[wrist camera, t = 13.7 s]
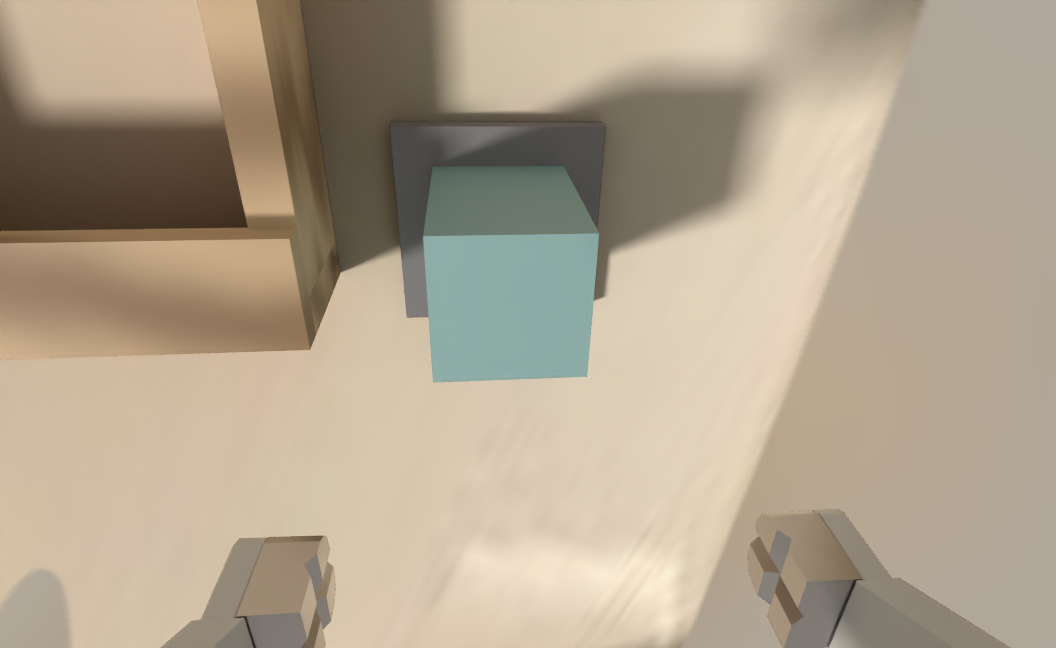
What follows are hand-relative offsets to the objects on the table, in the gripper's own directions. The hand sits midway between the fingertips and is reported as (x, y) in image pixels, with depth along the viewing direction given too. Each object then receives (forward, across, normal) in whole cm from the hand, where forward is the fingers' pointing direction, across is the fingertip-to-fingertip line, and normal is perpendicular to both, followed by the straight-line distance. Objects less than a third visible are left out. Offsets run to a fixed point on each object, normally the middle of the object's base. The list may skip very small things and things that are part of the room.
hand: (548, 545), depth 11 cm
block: (+15, 0, -1) cm, 15 cm away
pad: (+16, 0, -1) cm, 16 cm away
